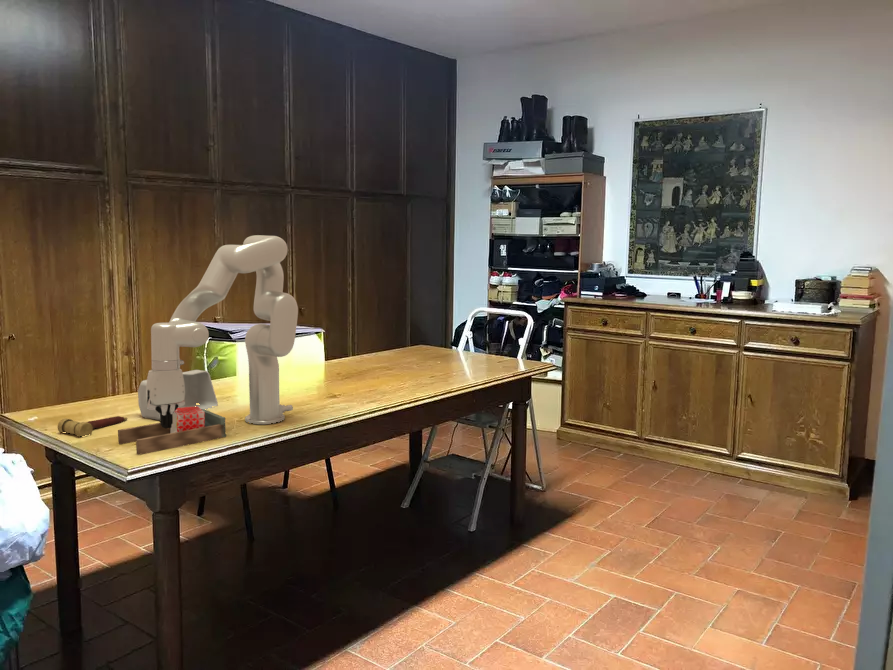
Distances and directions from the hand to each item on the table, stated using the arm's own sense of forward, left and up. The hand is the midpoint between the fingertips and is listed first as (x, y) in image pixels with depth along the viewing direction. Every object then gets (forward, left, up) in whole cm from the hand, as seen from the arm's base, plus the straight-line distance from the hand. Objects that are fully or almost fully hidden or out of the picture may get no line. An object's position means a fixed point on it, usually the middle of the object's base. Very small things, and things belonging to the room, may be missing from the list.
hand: (166, 427), depth 210 cm
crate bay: (-2, 0, -4) cm, 5 cm away
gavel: (+9, -28, -5) cm, 30 cm away
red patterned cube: (-7, -1, -4) cm, 8 cm away
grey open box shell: (-17, -34, -5) cm, 38 cm away
